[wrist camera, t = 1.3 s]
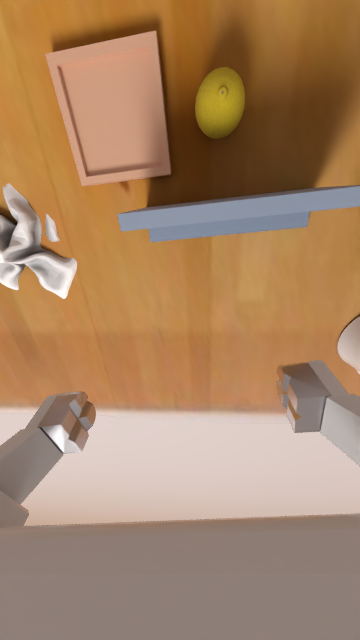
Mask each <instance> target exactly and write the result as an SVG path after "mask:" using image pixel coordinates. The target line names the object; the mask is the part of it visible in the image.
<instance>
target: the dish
mask: <svg viewBox="0 0 360 640" xmlns="http://www.w3.org/2000/svg"><path fill="white" fill-rule="evenodd" d="M45 55H46V59H47V62H48V66H49V70H50V73H51V77H52V80H53V84H54V88H55V91H56V95H57V98H58V102H59V105H60V109H61V113H62V116H63V120H64V123H65V127H66V131H67V134H68V138H69V141H70V145H71V149H72V152H73V156H74V159H75V163H76V166H77V170H78V174H79V177H80V181H81V184H82V186H95V185H102V184H110V183H117V182H125V181H132V180H140V179H147V178H155V177H162V176H170V175H172V168H171V158H170V148H169V139H168V129H167V119H166V109H165V99H164V90H163V80H162V70H161V60H160V51H159V41H158V37H157V33H156V30H155V31H151V32H146V33H141V34H137V35H132V36H127V37H123V38H118V39H113V40H108V41H104V42H99V43H94V44H90V45H85V46H80V47H76V48H71V49H66V50H62V51H57V52H52V53H47V54H45Z"/></svg>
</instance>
